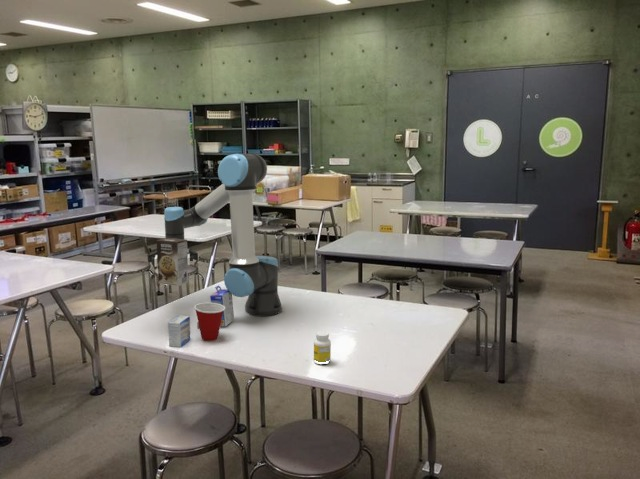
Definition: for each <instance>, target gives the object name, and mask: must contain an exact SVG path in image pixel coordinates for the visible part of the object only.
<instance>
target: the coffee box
mask: <svg viewBox="0 0 640 479" xmlns="http://www.w3.org/2000/svg"><path fill="white" fill-rule="evenodd" d="M156 250H157V259H158V265H157V272H158V284H160V285H161V284H162V285H167V286H168V285H169V286H176V287H179V286H183V285H185V284H188V283H189V265H188V261H187V255H188V254H187V250H188V239H185V238H184V239H175V238H165V237H164V238H161V239H156Z"/></svg>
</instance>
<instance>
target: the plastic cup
mask: <svg viewBox="0 0 640 479" xmlns="http://www.w3.org/2000/svg"><path fill="white" fill-rule="evenodd" d="M193 308H194V310H195V313H196V317H197V322H198V324H199V329H198V330H199V332H200V333H199V334H200V337H201V340H203V341H205V342H212V341H216V340H218V338H219V334H220V329H221V326H220V325H221V319H222V315H223V311H224V310H225V306H223V305H221V304H218V303H211V302H200V303H197V304H195V305H194V307H193Z"/></svg>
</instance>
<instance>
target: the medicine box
mask: <svg viewBox="0 0 640 479" xmlns="http://www.w3.org/2000/svg"><path fill="white" fill-rule="evenodd" d="M167 328H168V330H167V332H168V346H169V347H172V348H173V347H175V348H181V347H183V346H184V345H185V344H186V343H187V342H189V341H190V340H191V318H190V316H189V315H178V316H176V317H175V318H173V319H172V320H170V321H169V322H168V323H167Z"/></svg>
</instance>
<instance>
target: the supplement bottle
mask: <svg viewBox="0 0 640 479" xmlns="http://www.w3.org/2000/svg"><path fill="white" fill-rule="evenodd" d="M329 336H330V334H329V332H327V331H323V330H321V331H317V332H316V334H315V340H314V341H313V361H314V360H316V361H318V362H326V361H329V360H330V361H331V355H332V354H331V353H332V352H331V350H332V349H331V347H332V346H331V345H332V344H331V343H332V342H331V340H330V339H329Z"/></svg>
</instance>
